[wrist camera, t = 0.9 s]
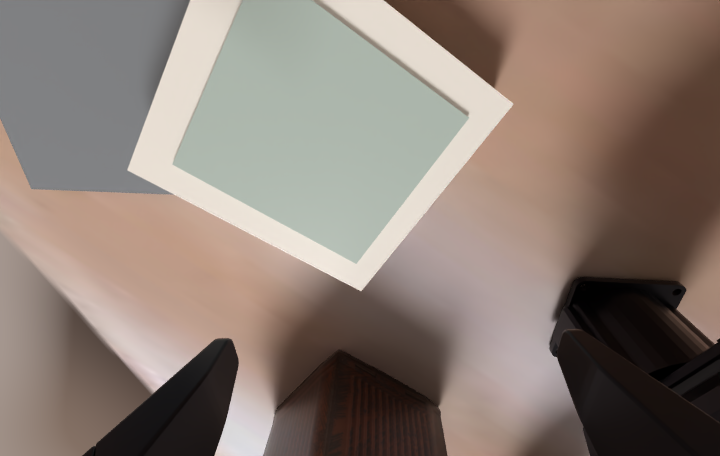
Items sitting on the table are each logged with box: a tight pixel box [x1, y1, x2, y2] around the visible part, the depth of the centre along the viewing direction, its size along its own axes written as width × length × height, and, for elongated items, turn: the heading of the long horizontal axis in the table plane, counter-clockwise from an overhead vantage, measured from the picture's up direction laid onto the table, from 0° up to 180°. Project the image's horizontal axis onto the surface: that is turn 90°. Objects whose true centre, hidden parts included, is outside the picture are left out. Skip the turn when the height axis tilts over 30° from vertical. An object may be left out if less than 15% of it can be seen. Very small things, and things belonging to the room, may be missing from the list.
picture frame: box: [127, 0, 513, 291], centre depth 17 cm, size 3×12×13 cm
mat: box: [0, 0, 190, 195], centre depth 17 cm, size 17×18×1 cm
